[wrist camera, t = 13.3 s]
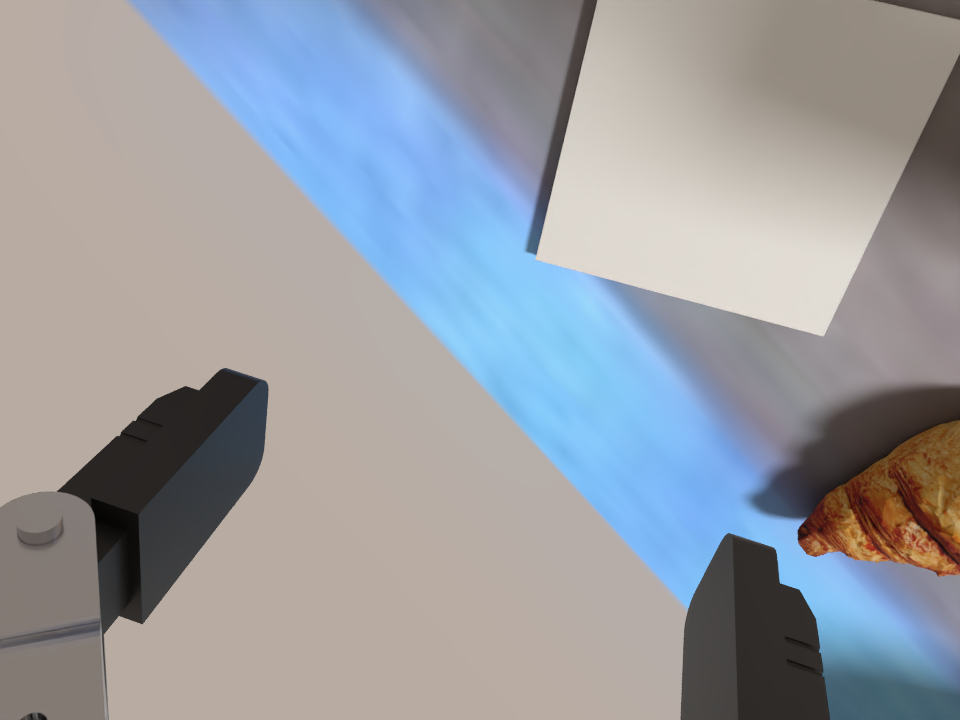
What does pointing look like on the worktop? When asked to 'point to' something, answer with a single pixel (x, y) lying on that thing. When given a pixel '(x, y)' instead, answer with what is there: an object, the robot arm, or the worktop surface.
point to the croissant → (897, 507)
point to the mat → (742, 146)
